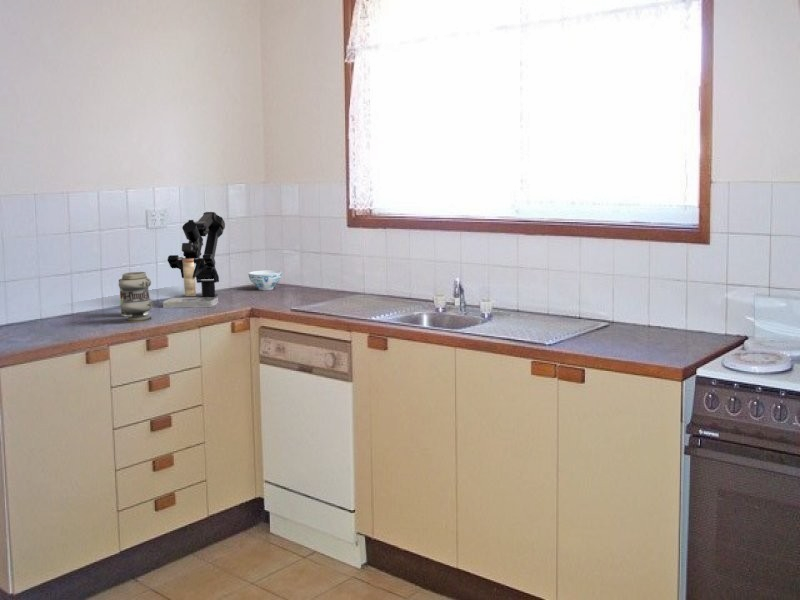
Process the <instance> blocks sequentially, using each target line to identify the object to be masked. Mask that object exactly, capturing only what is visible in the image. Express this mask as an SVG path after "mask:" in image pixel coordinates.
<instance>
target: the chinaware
mask: <svg viewBox="0 0 800 600" xmlns="http://www.w3.org/2000/svg"><path fill="white" fill-rule="evenodd" d="M282 273H283V271H281V270H275V269H274V270H273V269H270V270H269V269H268V270H266V269H265V270H256V271H255V270H254V271H250V272H248V273H247V274H248V277H249V280H250V282H251V283H252V284H253V286H255V287H256V288H258V290H259V291H270V290H274V287H275V286H277V285H278V284H279V282H280V280H281V277H282Z"/></svg>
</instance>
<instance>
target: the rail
mask: <svg viewBox="0 0 800 600" xmlns="http://www.w3.org/2000/svg"><path fill="white" fill-rule="evenodd" d="M217 303H218V304H219V297H218V296H214V297H170V298H168V299H166V300H164V301H162V309H176V308H177V309H178V308H181V309H182V308H212V307H214V306H216V305H218V304H217Z"/></svg>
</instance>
